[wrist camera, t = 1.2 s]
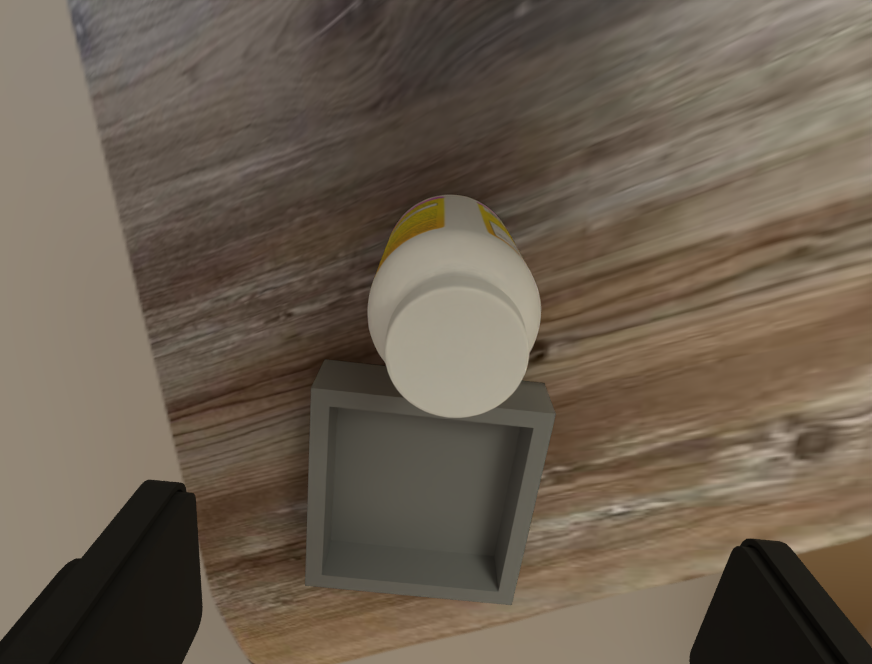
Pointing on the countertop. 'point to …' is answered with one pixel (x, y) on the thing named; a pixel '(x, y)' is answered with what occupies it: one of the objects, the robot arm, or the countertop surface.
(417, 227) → the supplement bottle
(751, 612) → the robot arm
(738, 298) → the countertop surface
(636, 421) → the countertop surface
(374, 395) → the charcoal tray
